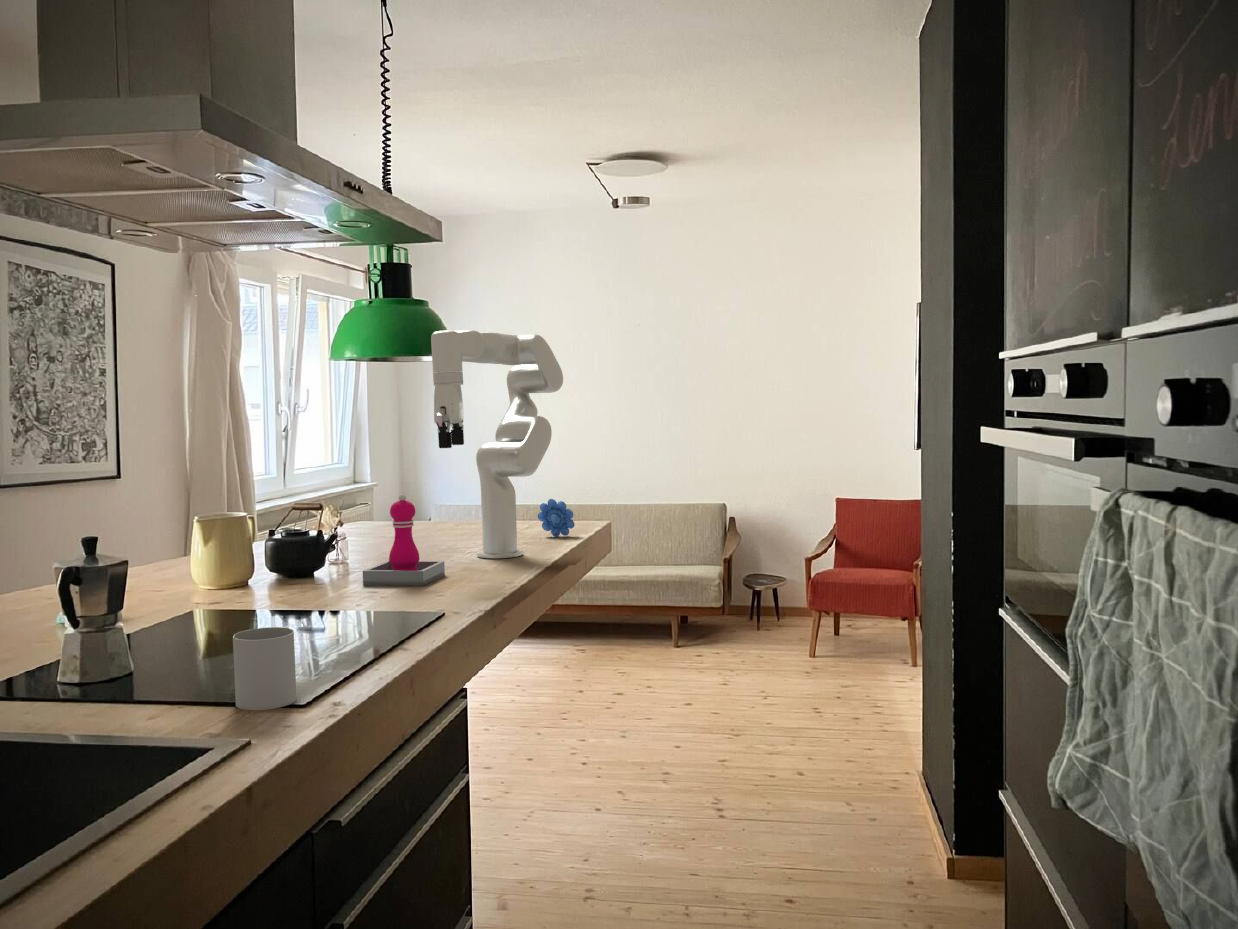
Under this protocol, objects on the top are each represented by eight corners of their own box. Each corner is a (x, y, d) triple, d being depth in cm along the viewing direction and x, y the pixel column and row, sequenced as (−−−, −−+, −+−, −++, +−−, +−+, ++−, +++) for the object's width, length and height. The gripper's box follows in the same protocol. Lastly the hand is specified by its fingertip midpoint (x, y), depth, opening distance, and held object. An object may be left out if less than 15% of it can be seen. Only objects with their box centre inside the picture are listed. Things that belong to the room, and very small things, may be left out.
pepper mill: (423, 573, 254) (421, 492, 252) (415, 578, 246) (412, 495, 245) (395, 573, 254) (392, 492, 253) (385, 579, 247) (382, 495, 246)
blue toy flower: (536, 538, 322) (535, 500, 321) (539, 535, 328) (538, 498, 328) (573, 538, 321) (572, 499, 320) (575, 535, 328) (574, 497, 327)
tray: (387, 574, 259) (387, 560, 259) (444, 575, 257) (444, 561, 257) (363, 585, 245) (362, 570, 244) (423, 586, 242) (423, 571, 242)
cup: (291, 690, 155) (288, 624, 155) (302, 704, 148) (299, 635, 148) (231, 699, 151) (228, 631, 151) (240, 713, 144) (237, 643, 144)
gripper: (445, 379, 273) (448, 444, 274) (422, 380, 256) (425, 449, 257) (472, 378, 271) (476, 443, 273) (451, 379, 254) (454, 449, 256)
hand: (451, 446), depth 265 cm, fingers open, 9 cm apart
